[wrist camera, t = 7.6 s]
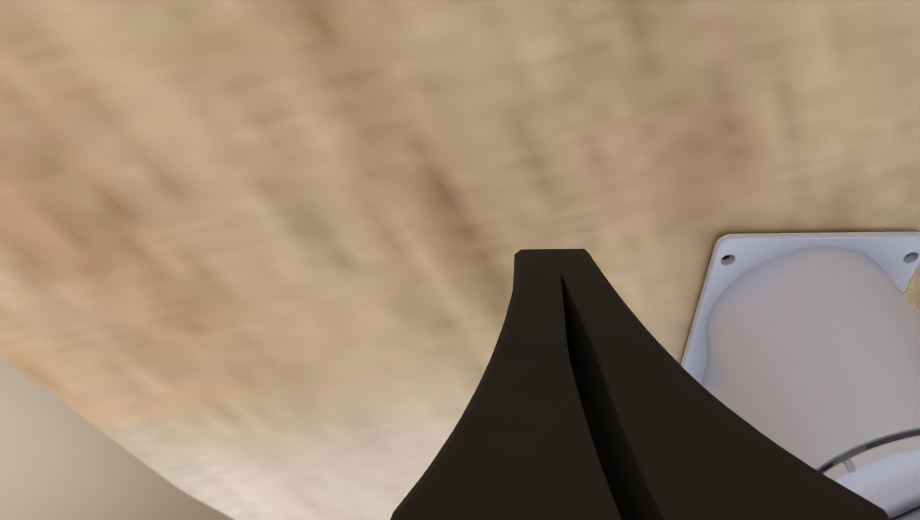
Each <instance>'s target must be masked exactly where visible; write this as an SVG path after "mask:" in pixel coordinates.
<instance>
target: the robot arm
mask: <svg viewBox="0 0 920 520" xmlns="http://www.w3.org/2000/svg"><path fill="white" fill-rule="evenodd" d="M909 253H911V254H910V255H908V254H909ZM726 255H730V257H728V258H727V259H722V258H723V257H724V256H726ZM906 255H908V256H906ZM905 256H906V257H905ZM919 264H920V232H918V231H903V232H825V233H747V234H727V235H724V236H722V237H720V238H719V239H718V240H717V242H716V244H715V246H714V250H713V253H712V257H711V260H710V264H709V267H708V271H707V274H706V278H705V281H704V285H703V288H702V292H701V295H700V299H699V302H698V306H697V309H696V313H695V316H694V320H693V323H692V327H691V330H690V334H689V337H688V341H687V344H686V348H685V351H684V355H683V358H682V362H681V365H680V364H679V363H678V362H677V361H676V360H675V359H674V358H673V357H672V356H671V355H670V354H669V353H668V352H667V351H666V350H665V349H664V348H663V347H662V346H661V344H660V343H659V342H658V341H657V340H656V339H655V338H654V337H653V336H652V335H651V334H650V332H649V331H648V330H647V329H646V328H645V327H644V326H643V324H642V323H641V322H640V321H639V320H638V318H637V317H636V316H635V315H634V313H633V312H632V311H631V310H630V309H629V307H628V306H627V305H626V304H625V303H624V301H623V300H622V299H621V297H620V296H619V295H618V294H617V292H616V291H615V290H614V288H613V287H612V286H611V284H610V283H609V282H608V280H607V279H606V277H605V276H604V275H603V273H602V272H601V270H600V269H599V268H598V266H597V265H596V263H595V262H594V260H593V259H592V257H591V256H590V254H589V253H588V252H587V251H586V250H585V249H534V250H520V251H519V252H517V253H516V254H515V259H514V279H513V292H512V296H511V300H510V304H509V307H508V311H507V315H506V318H505V322H504V325H503V328H502V330H501V333H500V336H499V338H498V341H497V344H496V346H495V349H494V352H493V354H492V357H491V359H490V361H489V364H488V366H487V368H486V370H485V373H484V375H483V377H482V379H481V381H480V383H479V385H478V387H477V389H476V391H475V393H474V395H473V397H472V399H471V400H470V402H469V404H468V406H467V408H466V409H465V411H464V413H463V415H462V417H461V418H460V420H459V422H458V423H457V425H456V427H455V428H454V430H453V432H452V433H451V435H450V436H449V438H448V439H447V441H446V442H445V444H444V445H443V447H442V448H441V450H440V451H439V453H438V454H437V456H436V457H435V459H434V460H433V462H432V463H431V465H430V466H429V467H428V469H427V470H426V471H425V473H424V474H423V476H422V477H421V478H420V479H419V481H418V482H417V483H416V484H415V486H414V487H413V488H412V489H411V491H410V492H409V493H408V494H407V496H406V497H405V498H404V500H403V501H402V502H401V503H400V505H399V506H398V507H397V508H396V510H395V511H394V512H393V514H392V517H391V519H390V520H920V313H919V312H918V310H917V309H916V308H915V307H914V306H913V305H912V303H911V302H910V301H909V300H908V299H907V297H906V296H905V295H904V292H905V290H906V288H907V286H908V285H909V283H910V281H911V279H912V277H913V275H914V274H915V272H916V270H917V268H918V266H919Z"/></svg>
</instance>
